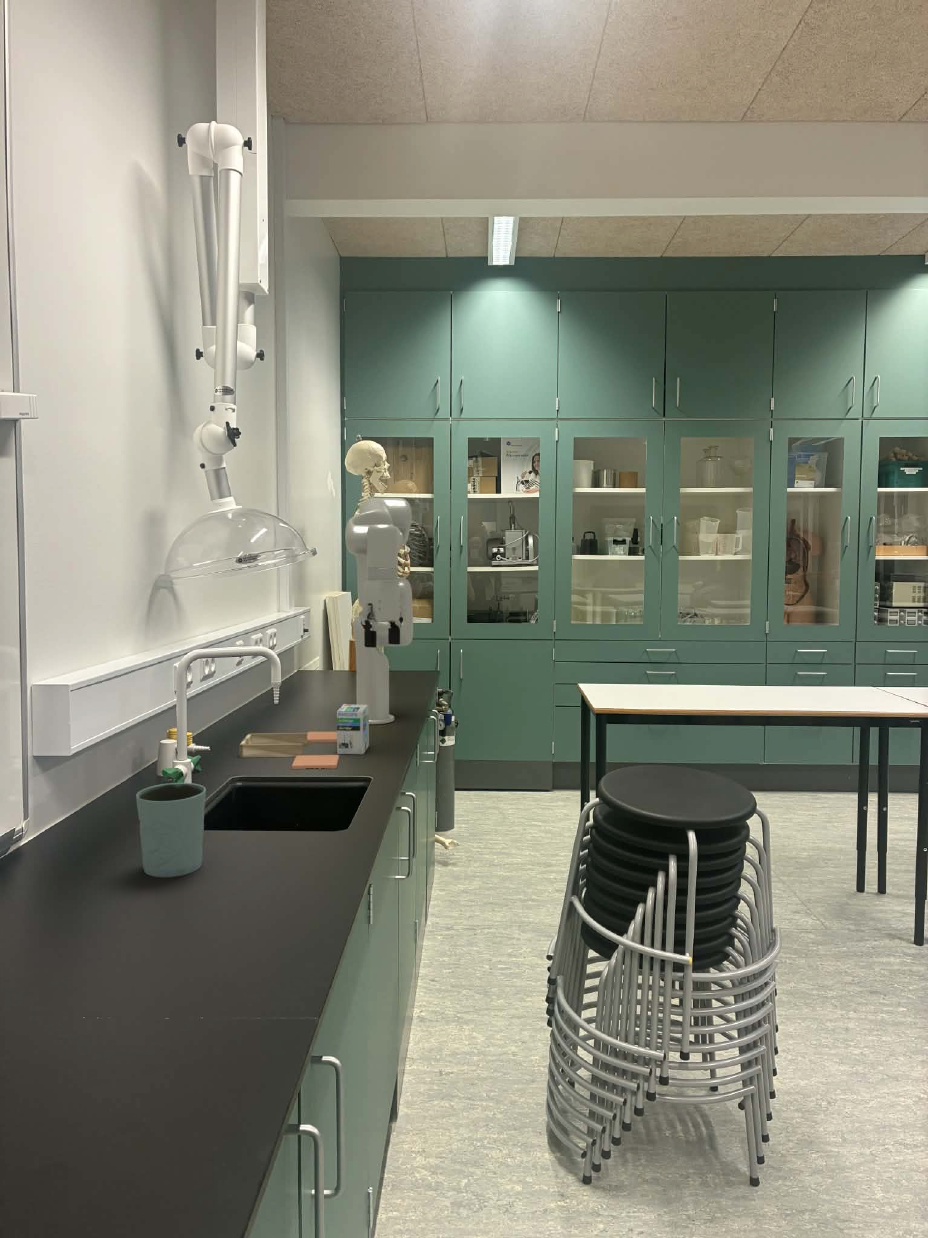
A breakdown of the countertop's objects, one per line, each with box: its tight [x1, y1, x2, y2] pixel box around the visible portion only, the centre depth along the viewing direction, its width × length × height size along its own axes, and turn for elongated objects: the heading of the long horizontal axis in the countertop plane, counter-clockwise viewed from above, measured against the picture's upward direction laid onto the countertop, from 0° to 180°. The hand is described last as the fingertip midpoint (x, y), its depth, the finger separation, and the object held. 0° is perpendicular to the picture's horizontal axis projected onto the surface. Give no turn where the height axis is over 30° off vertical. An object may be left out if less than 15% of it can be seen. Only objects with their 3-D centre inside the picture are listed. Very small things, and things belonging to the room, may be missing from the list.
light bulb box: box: [336, 703, 370, 755], centre depth 212 cm, size 11×7×11 cm, turn 179°
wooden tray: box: [238, 732, 309, 759], centre depth 210 cm, size 14×15×3 cm
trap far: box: [306, 731, 337, 744], centre depth 225 cm, size 10×10×1 cm
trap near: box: [291, 754, 340, 770], centre depth 197 cm, size 10×10×1 cm
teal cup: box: [135, 782, 207, 878], centre depth 130 cm, size 10×10×12 cm
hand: (382, 645), depth 207 cm, fingers open, 9 cm apart
